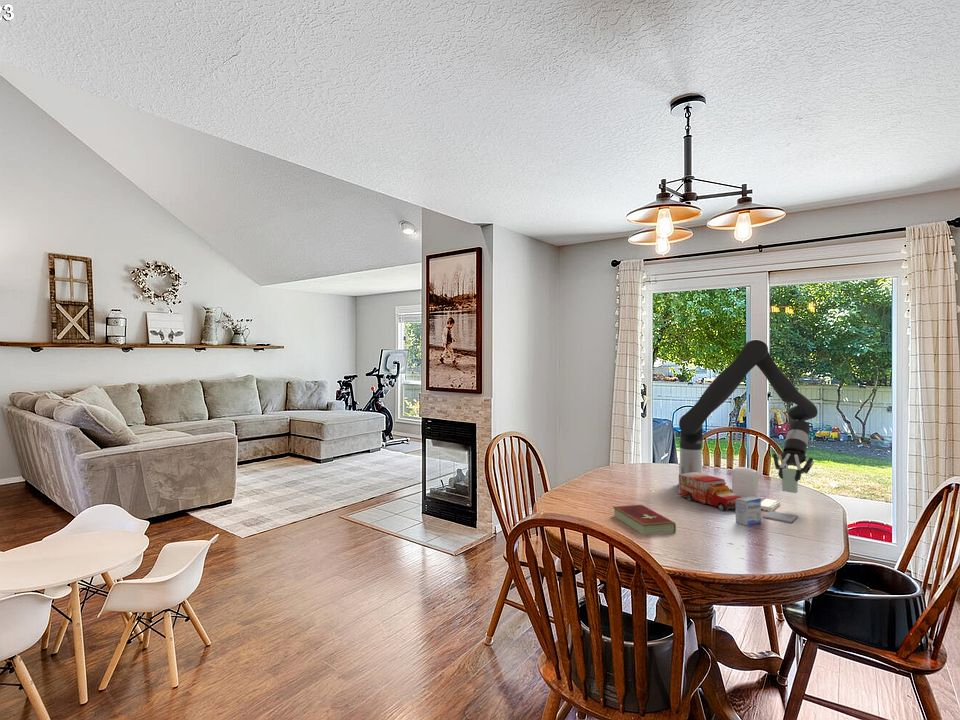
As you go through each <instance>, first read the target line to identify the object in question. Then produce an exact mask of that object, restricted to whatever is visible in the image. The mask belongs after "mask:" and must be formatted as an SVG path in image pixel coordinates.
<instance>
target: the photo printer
mask: <svg viewBox="0 0 960 720" xmlns="http://www.w3.org/2000/svg"><path fill="white" fill-rule="evenodd" d="M731 489H732V491H733V494H735V495H738V496H740V497H742V498H743V497H748V496H752V497H757V498H760V497H759V473H758V471H757V470H755V469H753V468H749V467H745V466H738V467H733V468H732V470H731Z"/></svg>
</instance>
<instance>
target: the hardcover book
mask: <svg viewBox="0 0 960 720" xmlns="http://www.w3.org/2000/svg"><path fill="white" fill-rule="evenodd" d="M612 508H613V509H614V510H613V512H614V513H613V514H614V518H616V519H618V520H619V521H621V522H623V523H624V524H626V525H627V526H629V527H630V528H632V529H633V530H635V531H636V532H639V533H640V534H642V535H643V536H645V535H646V536H647V535H659V534H670V533H674V534H675V533H676V532H677V531H676V530H677V527H676V522H675V521H673V520H671V519H669V518H668V517H665V516H663V515H662V514H660V513H658V512H656V511H654V510H652V509H650V508H649V507H647V506H645V505H643V504H630V505H629V504H628V505H613V506H612Z"/></svg>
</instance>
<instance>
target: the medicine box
mask: <svg viewBox="0 0 960 720" xmlns="http://www.w3.org/2000/svg"><path fill="white" fill-rule="evenodd" d="M761 502H762V499H761V498H760V497H759V498H757V497H752V496H748V497H742V498H738V499H736V509H735V523H736V524H740V525H743V526H745V527H746V526H747V527H748V526H749V525H750V526H753V525H757V524H760V523H762V510H761Z"/></svg>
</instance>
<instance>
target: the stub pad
mask: <svg viewBox="0 0 960 720" xmlns="http://www.w3.org/2000/svg"><path fill="white" fill-rule="evenodd" d="M797 517H799V516H798V515H795V514H791V513H784V512H779V511H774V510H773V511H768V512H767V513H765V514H764V515H763V516H762V518H764V519H767V518H769V519H768V520H772V519H773V520H772V521H777V522H783V523H788V522H789V524H793V523H794V522H795V521H796V520H797V519H798V518H797ZM796 518H797V519H796ZM795 519H796V520H795ZM794 520H795V521H794ZM793 521H794V522H793ZM792 522H793V523H792Z"/></svg>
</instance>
